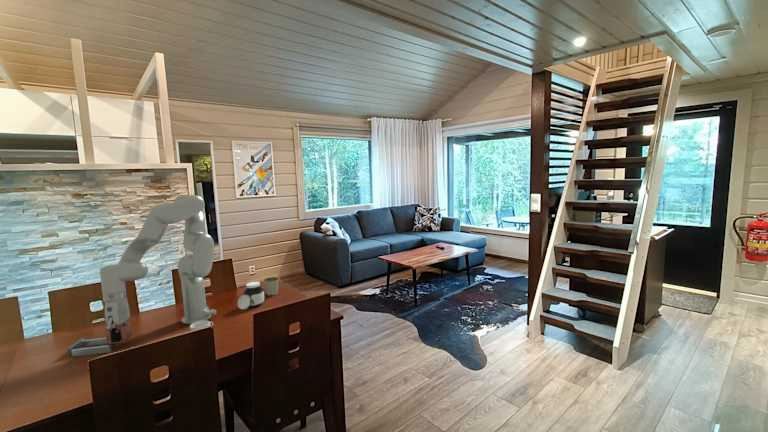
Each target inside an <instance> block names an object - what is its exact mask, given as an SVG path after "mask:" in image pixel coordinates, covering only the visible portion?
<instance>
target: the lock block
mask: <svg viewBox="0 0 768 432" xmlns="http://www.w3.org/2000/svg"><path fill="white" fill-rule="evenodd" d="M131 323H132V322H131V321H127V322H126V323H122V324H121V325H119V332H120V336H121V341H120V343H122V342H127V341H128V340H129V339H131V338H132V336H133V332H132V331H133V330H132V324H131ZM113 325H116V324H115V323H113ZM113 328H115V329H116V326H113ZM104 331H105V338H106V341H107V343H114V342H111V335H110V332H109V330H107V327H106V328H105V329H104ZM114 344H115V343H114Z"/></svg>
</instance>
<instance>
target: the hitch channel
mask: <svg viewBox="0 0 768 432" xmlns="http://www.w3.org/2000/svg"><path fill="white" fill-rule="evenodd" d="M111 344H121V342H114V343H107V341H106V337H98V338H90V339H86V337H82V338H80V339H78V340H77V341H76V342H75V343H73V344H71V346H69V347H68V348H67V355H68V358H75V357H82V356H89V355H90V354H91V355H98V354H97V353H99V354H104V353H105V354H106V353H111V352H112V345H111ZM96 345H97V346H96Z"/></svg>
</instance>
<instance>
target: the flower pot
mask: <svg viewBox="0 0 768 432" xmlns="http://www.w3.org/2000/svg"><path fill="white" fill-rule="evenodd" d="M280 279H281V278H280V277H278V276H271V277H266V278H263V279H262V283H263V286H264V288H265V294H266V295H267V296H270V297H271V296H275V295H276V296H277V294H278V292H279V282H280Z"/></svg>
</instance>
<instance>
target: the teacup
mask: <svg viewBox="0 0 768 432" xmlns="http://www.w3.org/2000/svg"><path fill="white" fill-rule="evenodd" d="M206 326H210V327H211V326H212V327H213V326H214V322H213V321H209V320H206V321H199V322H195V323H193V324H189V330H190V332H191V331H192V330H196V329H199V328H202V327H206Z"/></svg>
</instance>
